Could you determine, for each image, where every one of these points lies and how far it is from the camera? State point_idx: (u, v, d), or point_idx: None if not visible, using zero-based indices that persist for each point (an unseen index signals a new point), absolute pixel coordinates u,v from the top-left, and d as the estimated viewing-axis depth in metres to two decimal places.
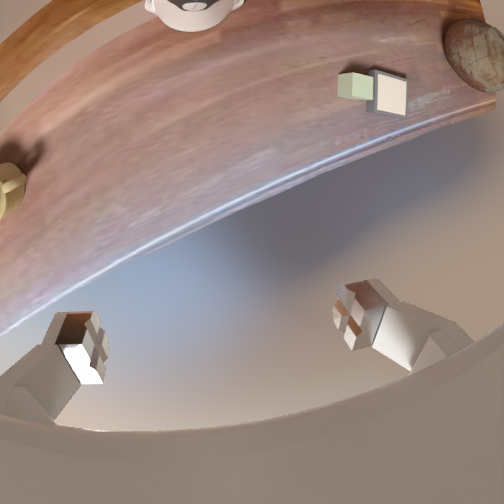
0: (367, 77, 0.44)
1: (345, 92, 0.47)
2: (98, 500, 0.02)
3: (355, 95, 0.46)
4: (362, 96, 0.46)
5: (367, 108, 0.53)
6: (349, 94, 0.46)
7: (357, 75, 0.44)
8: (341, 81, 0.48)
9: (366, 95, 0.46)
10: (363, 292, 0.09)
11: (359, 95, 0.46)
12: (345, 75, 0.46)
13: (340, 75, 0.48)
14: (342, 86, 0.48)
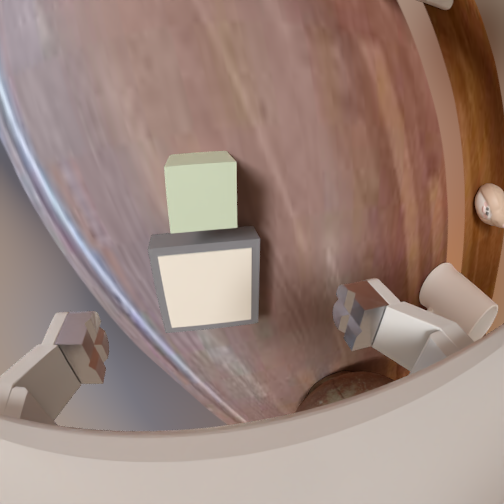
0: (231, 211, 0.21)
1: (176, 160, 0.20)
2: (98, 500, 0.02)
3: (168, 177, 0.18)
4: (171, 199, 0.19)
5: (159, 235, 0.26)
6: (170, 163, 0.19)
7: (230, 177, 0.19)
8: (208, 154, 0.23)
9: (176, 211, 0.20)
10: (363, 292, 0.09)
11: (171, 189, 0.19)
12: (224, 156, 0.21)
13: (224, 152, 0.23)
14: (194, 156, 0.22)
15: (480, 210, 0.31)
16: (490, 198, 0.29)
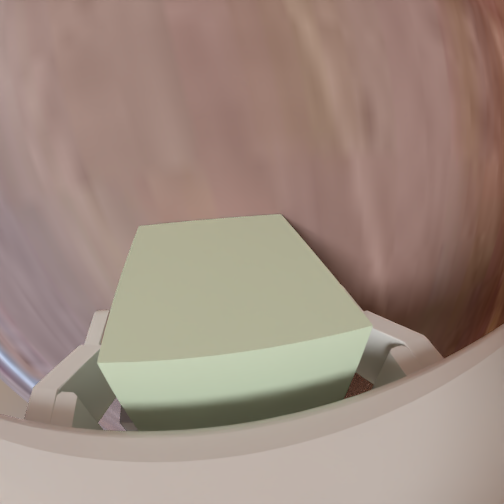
0: None
1: (147, 278, 0.06)
2: (98, 500, 0.02)
3: (122, 388, 0.04)
4: (148, 428, 0.05)
5: None
6: (122, 321, 0.05)
7: (340, 368, 0.05)
8: (242, 236, 0.08)
9: None
10: None
11: (143, 413, 0.05)
12: (297, 256, 0.07)
13: (283, 224, 0.09)
14: (204, 246, 0.08)
15: None
16: None
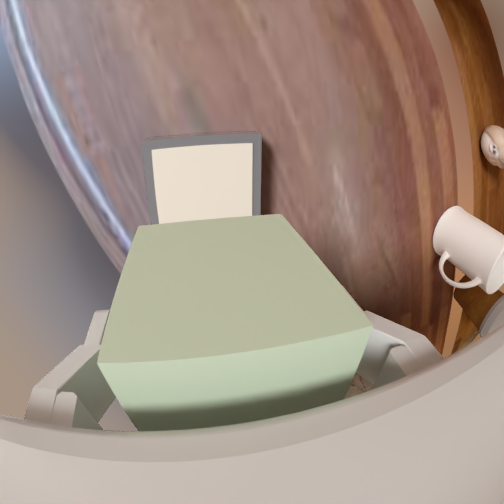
0: None
1: (147, 279, 0.06)
2: (98, 500, 0.02)
3: (122, 388, 0.04)
4: (148, 429, 0.05)
5: (155, 137, 0.23)
6: (122, 322, 0.05)
7: (341, 369, 0.05)
8: (242, 235, 0.08)
9: None
10: None
11: (143, 413, 0.05)
12: (297, 256, 0.07)
13: (283, 224, 0.09)
14: (204, 246, 0.08)
15: (487, 149, 0.28)
16: (496, 136, 0.25)
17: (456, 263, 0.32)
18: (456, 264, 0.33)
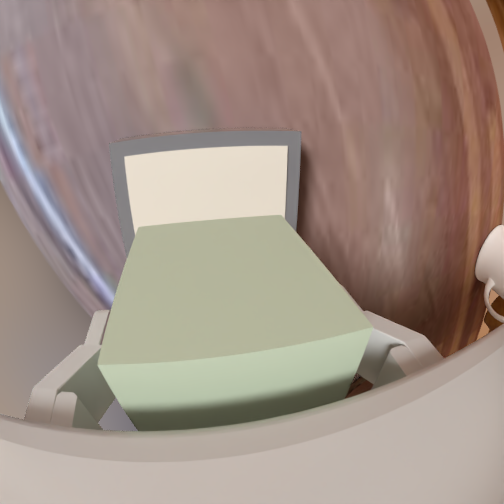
0: None
1: (147, 279, 0.06)
2: (98, 500, 0.02)
3: (122, 389, 0.04)
4: (148, 429, 0.05)
5: None
6: (122, 323, 0.05)
7: (341, 370, 0.05)
8: (242, 236, 0.08)
9: None
10: None
11: (143, 414, 0.05)
12: (297, 257, 0.07)
13: (283, 225, 0.09)
14: (204, 247, 0.08)
15: None
16: None
17: (502, 293, 0.24)
18: (501, 294, 0.24)
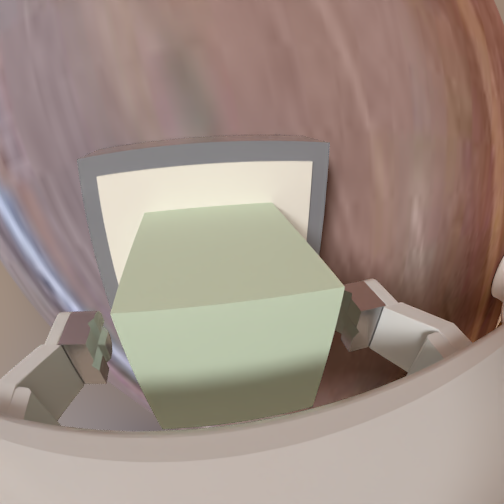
0: (307, 387, 0.08)
1: (153, 252, 0.07)
2: (98, 500, 0.02)
3: (129, 339, 0.05)
4: (150, 384, 0.06)
5: (112, 147, 0.11)
6: (132, 283, 0.06)
7: (319, 328, 0.06)
8: (236, 219, 0.10)
9: (168, 402, 0.07)
10: (360, 293, 0.09)
11: (146, 367, 0.06)
12: (283, 235, 0.08)
13: (273, 210, 0.10)
14: (203, 227, 0.09)
15: None
16: None
17: None
18: None
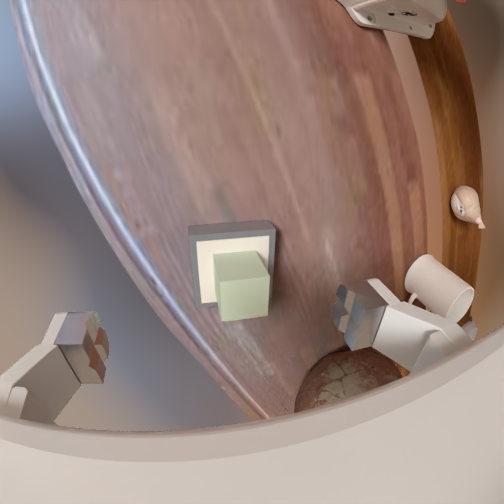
0: (264, 306, 0.30)
1: (223, 268, 0.30)
2: (98, 500, 0.02)
3: (222, 288, 0.28)
4: (223, 301, 0.28)
5: (194, 226, 0.33)
6: (221, 275, 0.28)
7: (265, 286, 0.29)
8: (244, 257, 0.32)
9: (226, 308, 0.29)
10: (363, 292, 0.09)
11: (224, 295, 0.28)
12: (257, 263, 0.31)
13: (255, 254, 0.33)
14: (234, 260, 0.31)
15: (455, 208, 0.40)
16: (463, 198, 0.38)
17: (422, 302, 0.44)
18: (422, 302, 0.44)
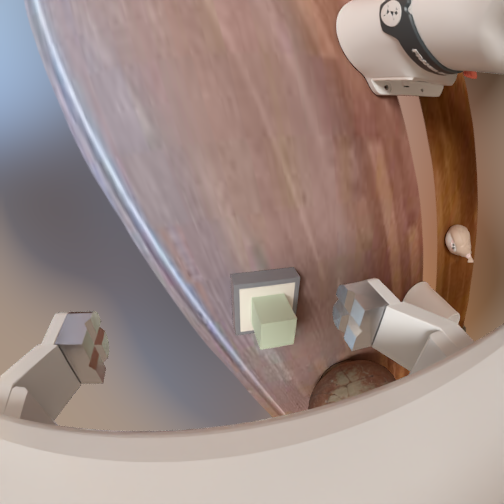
0: (291, 337, 0.39)
1: (261, 311, 0.39)
2: (98, 500, 0.02)
3: (262, 328, 0.37)
4: (262, 336, 0.38)
5: (236, 275, 0.43)
6: (261, 318, 0.37)
7: (293, 325, 0.38)
8: (276, 301, 0.41)
9: (264, 341, 0.38)
10: (363, 292, 0.09)
11: (263, 333, 0.37)
12: (286, 306, 0.40)
13: (284, 297, 0.42)
14: (269, 304, 0.40)
15: (448, 245, 0.48)
16: (456, 237, 0.45)
17: None
18: None
